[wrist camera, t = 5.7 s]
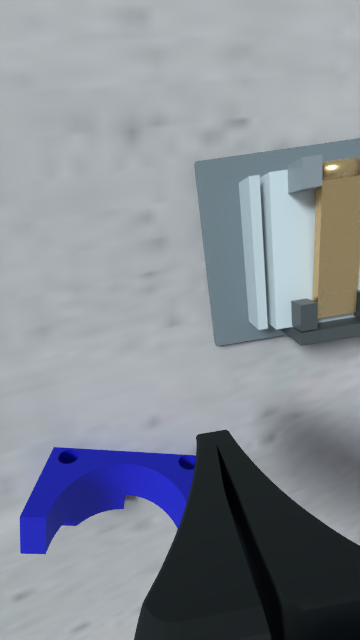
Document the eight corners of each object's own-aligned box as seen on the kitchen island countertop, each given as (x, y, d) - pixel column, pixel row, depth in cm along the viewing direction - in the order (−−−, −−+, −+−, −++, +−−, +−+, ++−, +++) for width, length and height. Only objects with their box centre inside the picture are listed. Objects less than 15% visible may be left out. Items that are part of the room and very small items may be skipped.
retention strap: (358, 157, 15) (372, 153, 14) (347, 308, 18) (357, 313, 17) (314, 164, 15) (325, 160, 14) (310, 314, 18) (319, 320, 17)
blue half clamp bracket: (53, 490, 24) (20, 570, 18) (54, 445, 23) (20, 516, 17) (193, 495, 25) (203, 572, 19) (201, 454, 24) (215, 523, 18)
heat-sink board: (411, 133, 18) (495, 99, 13) (396, 313, 21) (458, 333, 17) (194, 164, 17) (206, 139, 13) (214, 343, 21) (230, 371, 16)
